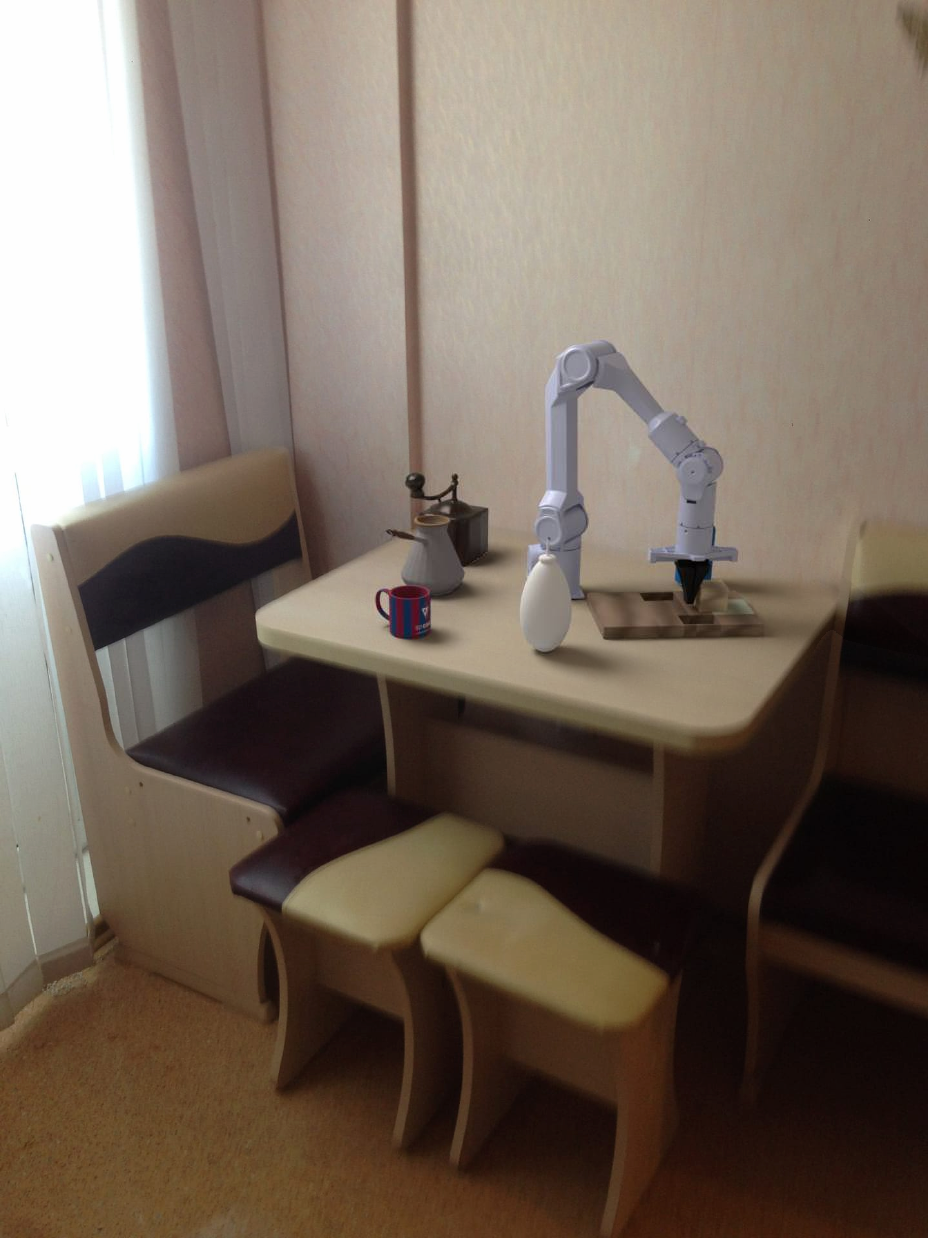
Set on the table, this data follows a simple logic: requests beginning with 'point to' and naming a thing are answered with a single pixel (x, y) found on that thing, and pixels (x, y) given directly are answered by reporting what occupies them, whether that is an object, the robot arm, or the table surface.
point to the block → (712, 596)
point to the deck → (668, 616)
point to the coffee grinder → (456, 518)
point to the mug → (407, 611)
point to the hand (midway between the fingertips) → (688, 602)
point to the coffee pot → (431, 556)
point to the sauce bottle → (546, 604)
